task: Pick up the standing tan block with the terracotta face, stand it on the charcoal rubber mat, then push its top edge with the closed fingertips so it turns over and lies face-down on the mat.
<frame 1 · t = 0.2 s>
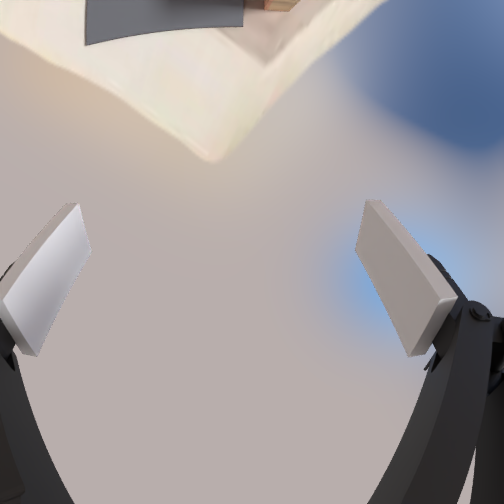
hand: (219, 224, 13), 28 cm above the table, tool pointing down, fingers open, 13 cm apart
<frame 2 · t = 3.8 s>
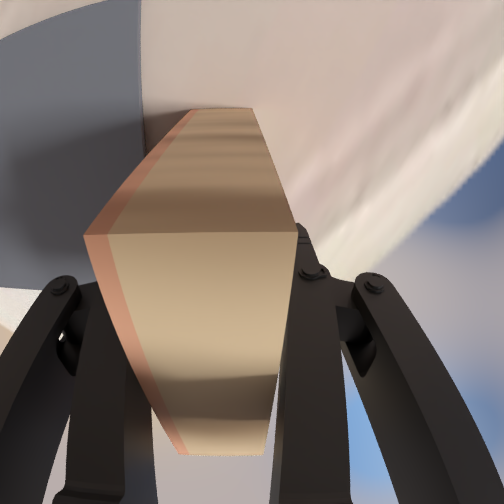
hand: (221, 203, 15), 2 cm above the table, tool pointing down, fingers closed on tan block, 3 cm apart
slate mat: (9, 176, 14), on the table
tan block: (222, 190, 16), on the table, touching gripper
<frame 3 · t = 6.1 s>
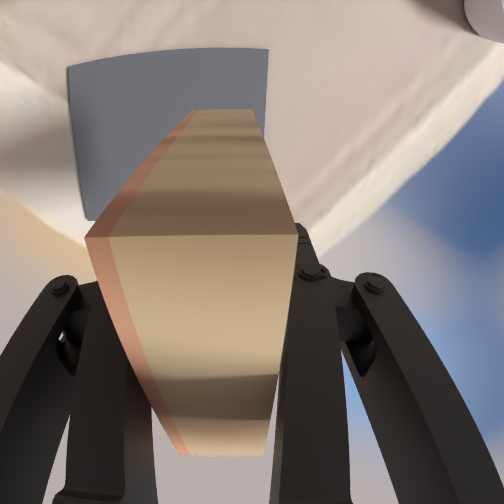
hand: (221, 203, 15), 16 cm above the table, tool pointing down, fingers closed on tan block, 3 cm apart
cup: (477, 5, 19), on the table
slate mat: (162, 137, 28), on the table
tan block: (222, 191, 16), point 15 cm above the table, touching gripper
when the fingers open (4 cm above the table, at t = 8.7 s): tan block drops 1 cm, resting on slate mat.
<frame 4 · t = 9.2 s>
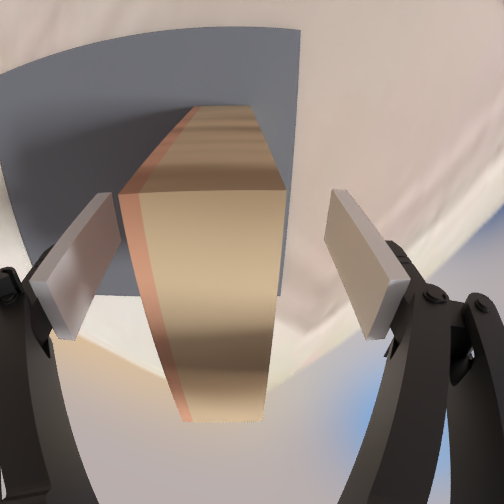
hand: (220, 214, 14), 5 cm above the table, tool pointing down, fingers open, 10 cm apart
slate mat: (127, 181, 18), on the table
tan block: (222, 181, 18), point 1 cm above the table, touching slate mat
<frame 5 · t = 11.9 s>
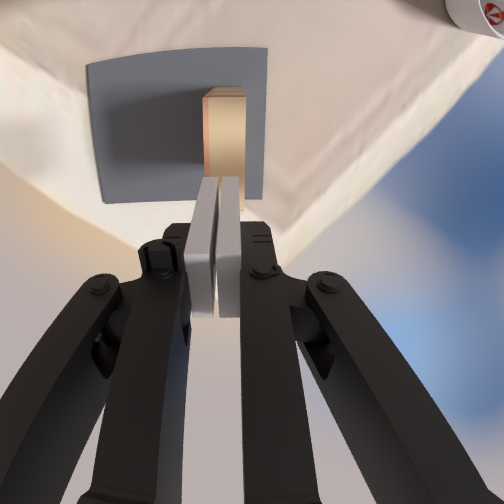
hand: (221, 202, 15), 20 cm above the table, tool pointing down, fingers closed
cup: (458, 1, 21), on the table
slate mat: (175, 127, 32), on the table
tan block: (228, 126, 32), resting on slate mat
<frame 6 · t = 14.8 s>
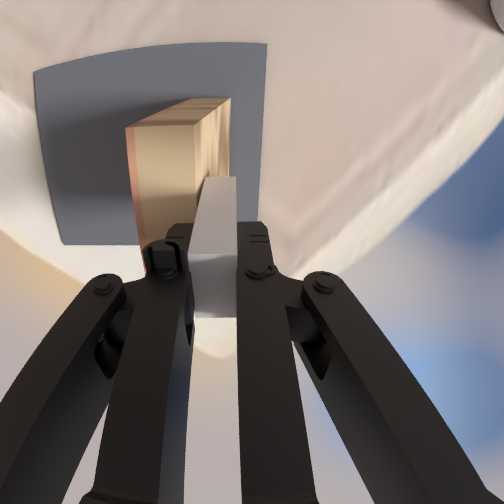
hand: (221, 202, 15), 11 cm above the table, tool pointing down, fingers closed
cup: (502, 2, 14), on the table
slate mat: (141, 152, 24), on the table
tan block: (210, 152, 24), point 1 cm above the table, tilted 6°, touching slate mat
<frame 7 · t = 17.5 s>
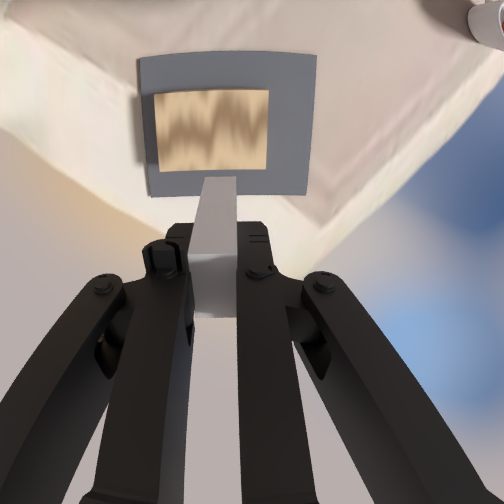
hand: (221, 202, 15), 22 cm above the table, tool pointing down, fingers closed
cup: (478, 17, 23), on the table
slate mat: (227, 124, 34), on the table
tan block: (266, 128, 32), point 2 cm above the table, tilted 90°, touching slate mat
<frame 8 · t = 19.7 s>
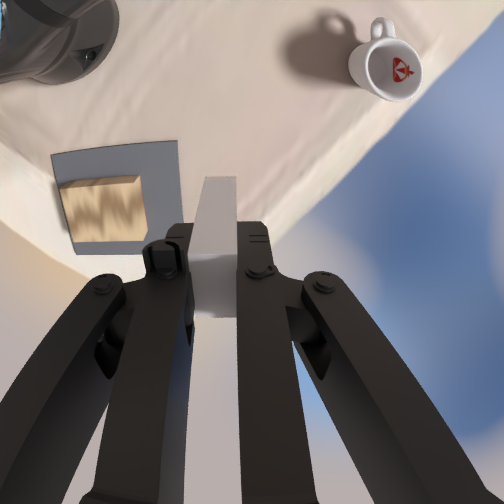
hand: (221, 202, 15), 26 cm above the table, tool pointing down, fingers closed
cup: (367, 57, 33), on the table
slate mat: (117, 203, 43), on the table
tan block: (141, 208, 41), point 2 cm above the table, tilted 90°, touching slate mat
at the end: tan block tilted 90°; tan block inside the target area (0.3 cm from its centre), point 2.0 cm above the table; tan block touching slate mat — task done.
